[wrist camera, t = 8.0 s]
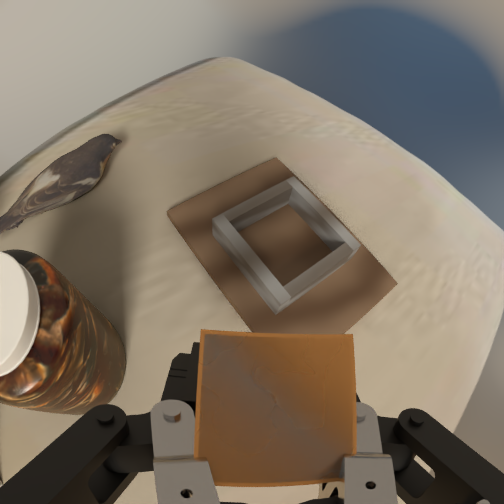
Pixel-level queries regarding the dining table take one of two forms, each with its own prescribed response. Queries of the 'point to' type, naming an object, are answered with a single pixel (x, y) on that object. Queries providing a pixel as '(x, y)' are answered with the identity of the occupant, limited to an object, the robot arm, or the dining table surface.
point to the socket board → (281, 254)
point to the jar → (53, 341)
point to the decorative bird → (62, 181)
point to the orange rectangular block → (275, 407)
